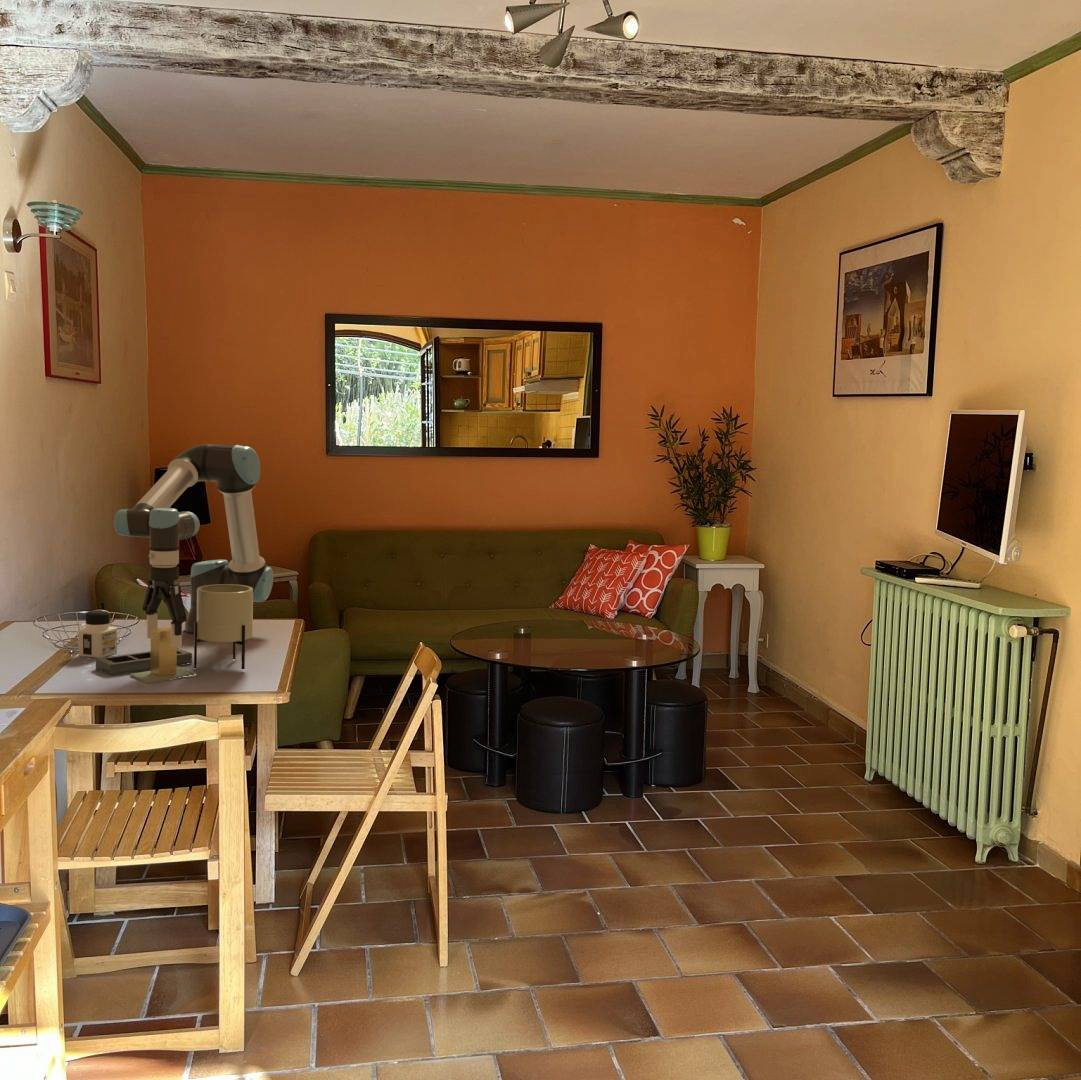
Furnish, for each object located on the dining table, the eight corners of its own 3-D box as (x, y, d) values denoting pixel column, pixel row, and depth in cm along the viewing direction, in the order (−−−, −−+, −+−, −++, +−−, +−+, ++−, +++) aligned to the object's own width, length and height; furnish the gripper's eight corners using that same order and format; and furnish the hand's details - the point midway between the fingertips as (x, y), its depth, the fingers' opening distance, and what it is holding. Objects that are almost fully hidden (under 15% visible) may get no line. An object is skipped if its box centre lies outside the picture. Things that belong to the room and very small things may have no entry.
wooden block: (167, 670, 293) (167, 626, 291) (176, 674, 290) (176, 629, 288) (150, 673, 289) (150, 628, 288) (159, 676, 286) (159, 631, 284)
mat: (178, 668, 298) (178, 666, 298) (196, 675, 291) (196, 673, 291) (130, 675, 288) (130, 673, 288) (147, 683, 281) (147, 681, 281)
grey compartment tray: (176, 657, 311) (176, 647, 310) (191, 663, 305) (191, 653, 304) (95, 669, 293) (95, 658, 293) (110, 675, 287) (110, 664, 287)
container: (101, 658, 306) (101, 614, 304) (78, 656, 307) (77, 612, 306) (117, 652, 313) (117, 609, 312) (94, 650, 315) (94, 607, 313)
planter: (259, 662, 309) (261, 585, 307) (241, 675, 294) (242, 594, 291) (209, 659, 310) (209, 582, 308) (187, 672, 294) (188, 591, 292)
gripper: (129, 560, 292) (129, 635, 294) (173, 572, 275) (173, 652, 277) (155, 558, 297) (155, 632, 300) (200, 570, 280) (199, 648, 283)
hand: (164, 642), depth 289 cm, fingers open, 13 cm apart
